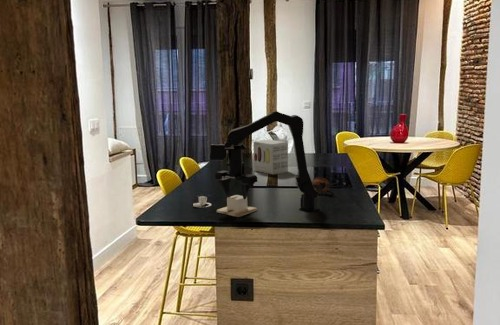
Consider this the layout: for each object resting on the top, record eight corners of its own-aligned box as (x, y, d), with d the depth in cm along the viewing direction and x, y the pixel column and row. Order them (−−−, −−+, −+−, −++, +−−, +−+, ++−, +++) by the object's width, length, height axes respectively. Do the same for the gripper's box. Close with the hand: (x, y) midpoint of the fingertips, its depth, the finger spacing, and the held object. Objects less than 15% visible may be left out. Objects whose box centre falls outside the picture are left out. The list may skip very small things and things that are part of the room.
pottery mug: (304, 193, 226) (308, 177, 228) (319, 199, 230) (322, 183, 233) (320, 191, 216) (324, 174, 218) (335, 197, 220) (339, 181, 222)
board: (257, 210, 195) (256, 201, 194) (238, 217, 186) (238, 207, 185) (235, 206, 203) (235, 197, 202) (216, 212, 193) (216, 202, 193)
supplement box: (253, 170, 282) (252, 141, 279) (268, 167, 291) (268, 139, 288) (272, 174, 269) (272, 143, 266) (288, 171, 278) (288, 141, 275)
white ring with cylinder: (195, 209, 200) (194, 200, 199) (189, 205, 207) (188, 196, 206) (214, 206, 203) (213, 197, 203) (207, 202, 211) (207, 194, 210)
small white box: (247, 208, 195) (247, 196, 194) (238, 211, 190) (237, 199, 189) (236, 206, 198) (236, 194, 198) (227, 209, 194) (226, 196, 193)
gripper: (265, 159, 191) (265, 196, 194) (231, 155, 202) (232, 190, 205) (248, 163, 182) (248, 202, 185) (213, 159, 194) (214, 195, 197)
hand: (236, 197), depth 193 cm, fingers open, 9 cm apart
